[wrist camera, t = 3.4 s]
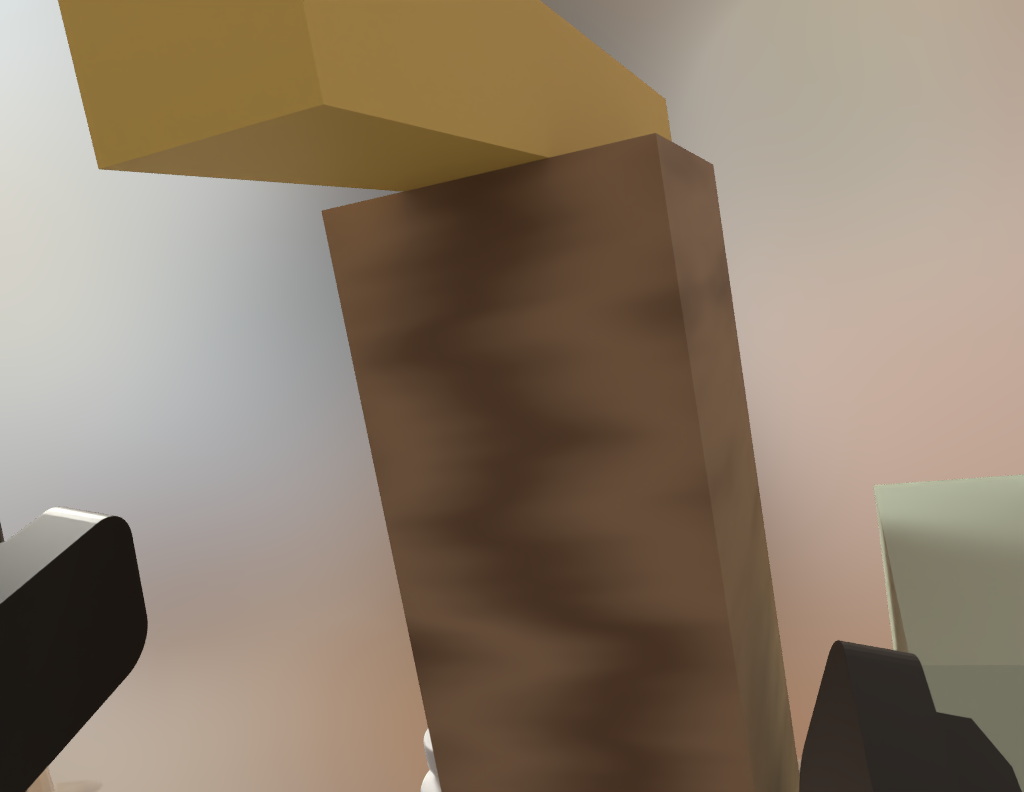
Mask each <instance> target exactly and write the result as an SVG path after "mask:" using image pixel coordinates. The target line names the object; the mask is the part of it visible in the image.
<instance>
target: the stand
mask: <svg viewBox="0 0 1024 792" xmlns="http://www.w3.org/2000/svg"><path fill="white" fill-rule="evenodd" d="M322 216H323V220H324V225H325V230H326V235H327V239H328V244H329V249H330V254H331V259H332V264H333V268H334V273H335V279H336V283H337V288H338V293H339V298H340V303H341V308H342V312H343V317H344V322H345V326H346V331H347V337H348V341H349V346H350V350H351V356H352V361H353V365H354V371H355V375H356V380H357V385H358V390H359V394H360V400H361V404H362V409H363V414H364V419H365V424H366V428H367V433H368V438H369V443H370V448H371V453H372V458H373V463H374V467H375V472H376V477H377V482H378V486H379V492H380V496H381V501H382V506H383V511H384V516H385V520H386V526H387V530H388V535H389V540H390V545H391V549H392V555H393V559H394V564H395V569H396V574H397V579H398V584H399V588H400V593H401V598H402V603H403V608H404V613H405V618H406V622H407V627H408V632H409V637H410V641H411V647H412V651H413V656H414V661H415V666H416V671H417V675H418V680H419V685H420V690H421V695H422V700H423V705H424V710H425V714H426V719H427V724H428V729H429V734H430V739H431V743H432V748H433V753H434V758H435V763H436V768H437V772H438V777H439V782H440V787H441V792H799V781H800V777H799V770H798V763H797V755H796V748H795V741H794V734H793V727H792V720H791V713H790V706H789V699H788V692H787V686H786V678H785V670H784V664H783V656H782V649H781V642H780V635H779V628H778V621H777V614H776V607H775V600H774V593H773V586H772V578H771V572H770V564H769V557H768V550H767V543H766V537H765V529H764V522H763V515H762V508H761V500H760V493H759V486H758V479H757V473H756V465H755V458H754V451H753V444H752V438H751V430H750V423H749V415H748V409H747V401H746V394H745V387H744V380H743V373H742V366H741V359H740V352H739V345H738V338H737V330H736V323H735V316H734V309H733V302H732V295H731V288H730V281H729V274H728V267H727V260H726V253H725V246H724V238H723V231H722V224H721V218H720V211H719V203H718V196H717V189H716V182H715V175H714V168H713V164H711V163H709V162H707V161H705V160H704V159H702V158H700V157H698V156H696V155H695V154H693V153H691V152H689V151H687V150H686V149H684V148H682V147H680V146H678V145H677V144H675V143H673V142H671V141H669V140H668V139H666V138H664V137H662V136H660V135H659V134H657V133H653V134H649V135H644V136H640V137H636V138H631V139H627V140H623V141H619V142H614V143H610V144H606V145H601V146H597V147H593V148H589V149H584V150H580V151H576V152H571V153H567V154H563V155H559V156H554V157H550V158H546V159H541V160H537V161H533V162H529V163H524V164H520V165H516V166H511V167H507V168H503V169H499V170H494V171H490V172H486V173H481V174H477V175H473V176H469V177H464V178H460V179H456V180H451V181H447V182H443V183H439V184H434V185H430V186H426V187H421V188H417V189H413V190H409V191H404V192H400V193H396V194H392V195H387V196H383V197H379V198H374V199H370V200H366V201H361V202H358V203H353V204H349V205H345V206H340V207H336V208H331V209H327V210H323V211H322Z"/></svg>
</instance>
